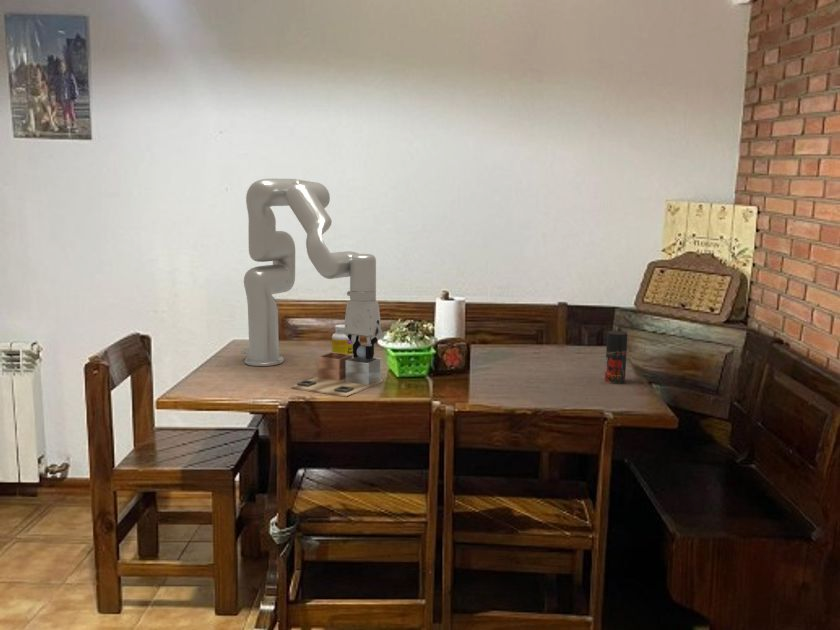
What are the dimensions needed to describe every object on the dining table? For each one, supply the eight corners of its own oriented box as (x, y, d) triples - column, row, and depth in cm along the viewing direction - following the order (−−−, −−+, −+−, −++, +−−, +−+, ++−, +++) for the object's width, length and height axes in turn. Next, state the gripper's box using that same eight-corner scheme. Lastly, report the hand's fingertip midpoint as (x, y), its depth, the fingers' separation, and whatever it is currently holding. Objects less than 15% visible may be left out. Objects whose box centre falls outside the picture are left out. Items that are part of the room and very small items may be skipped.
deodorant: (600, 379, 247) (603, 331, 245) (617, 378, 250) (619, 330, 247) (612, 384, 242) (614, 335, 239) (629, 382, 244) (631, 333, 242)
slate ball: (354, 359, 240) (353, 345, 239) (361, 356, 243) (360, 343, 243) (365, 360, 238) (365, 347, 237) (372, 357, 242) (372, 344, 241)
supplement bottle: (349, 367, 260) (349, 328, 258) (329, 366, 262) (329, 327, 259) (355, 362, 267) (355, 324, 265) (335, 361, 268) (335, 323, 266)
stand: (291, 388, 235) (290, 364, 234) (330, 373, 252) (330, 351, 251) (346, 397, 226) (346, 372, 225) (383, 381, 243) (383, 358, 242)
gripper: (332, 295, 238) (332, 357, 241) (381, 300, 230) (381, 363, 234) (346, 292, 245) (346, 352, 248) (394, 297, 237) (394, 358, 240)
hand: (363, 357), depth 241 cm, fingers closed on slate ball, 3 cm apart
